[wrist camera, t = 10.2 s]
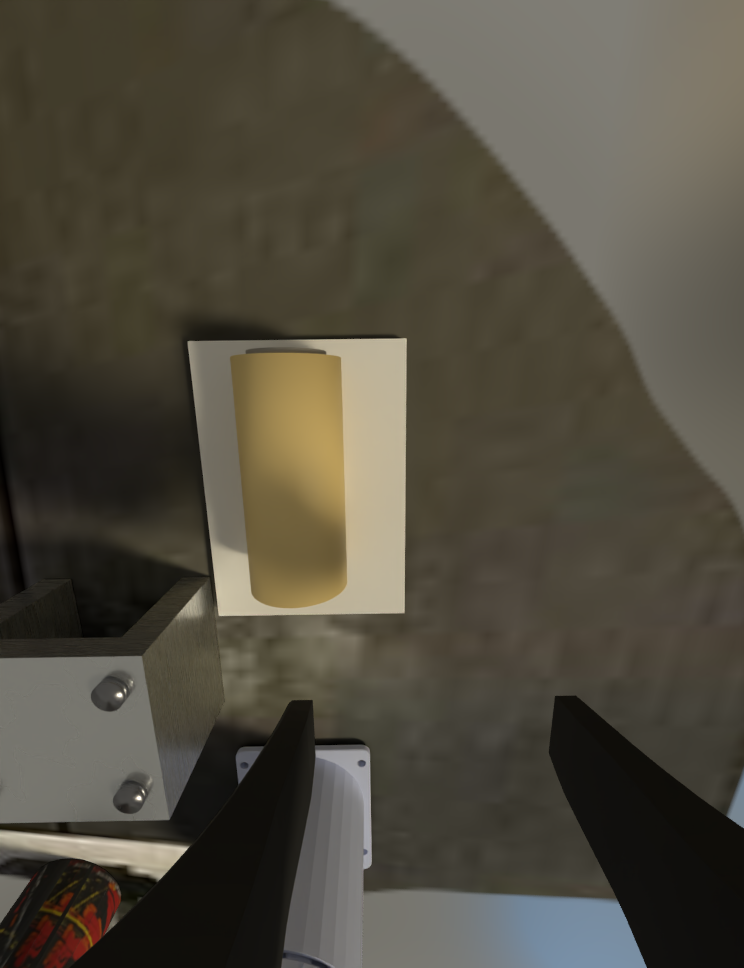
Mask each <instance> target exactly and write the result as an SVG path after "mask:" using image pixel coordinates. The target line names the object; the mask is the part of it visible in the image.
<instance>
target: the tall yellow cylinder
mask: <svg viewBox="0 0 744 968" xmlns="http://www.w3.org/2000/svg"><path fill="white" fill-rule="evenodd" d="M245 352H246V354H240V355H233V356H231V357H230V363H231V374H232V385H233V396H234V407H235V419H236V430H237V441H238V452H239V463H240V474H241V485H242V496H243V507H244V518H245V529H246V540H247V551H248V562H249V573H250V585H251V593H252V596H253V597H254V598H255V599H256V600H257V601H259V602H261V603H263V604H265V605H268V606H272V607H277V608H302V607H309V606H313V605H317V604H321V603H324V602H326V601H328V600H331V599H332V598H334V597H336V596H337V595H339V594H340V593H341V592H342V591H343V590H344V589H345V587H346V585H347V551H346V515H345V479H344V443H343V407H342V371H341V357H339V356H334V355H326V351H324V350H320V349H312V348H297V347H267V348H254V349H248V350H246V351H245Z"/></svg>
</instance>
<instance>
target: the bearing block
mask: <svg viewBox="0 0 744 968" xmlns="http://www.w3.org/2000/svg"><path fill="white" fill-rule="evenodd" d="M224 702H225V700H224V691H223V683H222V674H221V666H220V657H219V649H218V640H217V632H216V623H215V615H214V606H213V597H212V589H211V580H210V577H182V578H181V579H180V580H179V581H178V582H177V583H176V584H175V585H174V586H173V587H172V588H171V589H170V590H169V591H168V592H167V593H166V594H165V595H164V596H163V597H162V598H161V599H160V600H159V601H158V602H157V603H156V604H155V605H154V606H153V607H152V608H151V609H150V610H149V611H148V612H147V613H146V614H145V615H144V616H143V617H142V618H141V619H140V620H139V621H138V622H137V623H136V624H135V625H134V626H133V627H131V628H130V629H129V630H128V631H127V632H126V633H125V634H124V635H123V636H122V637H107V638H83V634H82V629H81V624H80V619H79V615H78V610H77V605H76V600H75V595H74V590H73V585H72V581H71V579H43V580H41V581H40V582H38V583H36V584H34V585H33V586H31V587H29V588H27V589H26V590H24V591H22V592H20V593H19V594H17V595H15V596H13V597H12V598H10V599H8V600H6V601H5V602H3V603H1V604H0V823H30V822H84V821H138V820H170V818H171V816H172V814H173V811H174V809H175V807H176V805H177V803H178V801H179V799H180V796H181V794H182V792H183V790H184V788H185V786H186V784H187V781H188V779H189V777H190V775H191V773H192V771H193V769H194V766H195V764H196V762H197V760H198V758H199V756H200V754H201V751H202V749H203V747H204V745H205V743H206V741H207V739H208V736H209V734H210V732H211V730H212V728H213V726H214V724H215V721H216V719H217V717H218V715H219V713H220V711H221V709H222V706H223V704H224Z"/></svg>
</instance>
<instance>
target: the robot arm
mask: <svg viewBox="0 0 744 968" xmlns="http://www.w3.org/2000/svg"><path fill="white" fill-rule="evenodd" d="M549 755H550V757H551V760H552V763H553V765H554V768H555V771H556V774H557V776H558V779H559V781H560V784H561V786H562V789H563V791H564V794H565V796H566V798H567V800H568V802H569V804H570V806H571V808H572V810H573V812H574V814H575V816H576V818H577V820H578V822H579V824H580V826H581V828H582V830H583V832H584V834H585V836H586V838H587V840H588V842H589V844H590V846H591V848H592V850H593V852H594V854H595V856H596V858H597V860H598V862H599V864H600V866H601V868H602V870H603V872H604V874H605V876H606V878H607V879H608V881H609V883H610V885H611V887H612V889H613V891H614V893H615V895H616V898H617V900H618V902H619V904H620V906H621V908H622V910H623V912H624V914H625V917H626V919H627V921H628V924H629V926H630V928H631V931H632V933H633V935H634V938H635V940H636V943H637V945H638V947H639V950H640V952H641V955H642V957H643V959H644V962H645V964H646V966H647V968H744V828H742V827H741V826H739V825H738V824H736V823H735V822H734V821H732V820H731V819H729V818H728V817H726V816H725V815H724V814H722V813H721V812H719V811H718V810H716V809H715V808H714V807H712V806H711V805H709V804H708V803H707V802H705V801H704V800H703V799H701V798H700V797H698V796H697V795H696V794H694V793H693V792H692V791H690V790H689V789H688V788H687V787H685V786H684V785H683V784H681V783H680V782H679V781H677V780H676V779H675V778H674V777H672V776H671V775H670V774H668V773H667V772H666V771H665V770H663V769H662V768H661V767H660V766H658V765H657V764H656V763H655V762H653V761H652V760H651V759H650V758H649V757H647V756H646V755H645V754H644V753H642V752H641V751H640V750H639V749H638V748H636V747H635V746H634V745H633V744H632V743H630V742H629V741H628V740H627V739H626V738H625V737H623V736H622V735H621V734H620V733H619V732H618V731H616V730H615V729H614V728H613V727H612V726H611V725H609V724H608V723H607V722H606V721H605V720H604V719H602V718H601V717H600V716H599V715H598V714H597V713H596V712H594V711H593V710H592V709H591V708H590V707H589V706H587V705H586V704H585V703H584V702H583V701H581V700H580V699H579V698H578V697H577V696H555V702H554V711H553V719H552V728H551V737H550V746H549ZM359 760H364V761H359ZM244 762H246V763H244ZM236 766H237V775H238V784H239V785H238V786H237V788H236V789H235V790H234V792H233V793H232V795H231V796H230V797H229V799H228V800H227V801H226V803H225V804H224V805H223V807H222V808H221V809H220V811H219V812H218V813H217V814H216V816H215V817H214V818H213V819H212V821H211V822H210V823H209V824H208V826H207V827H206V828H205V829H204V831H203V832H202V833H201V834H200V835H199V837H198V838H197V839H196V840H195V841H194V842H193V844H192V845H191V846H190V847H189V848H188V849H187V850H186V852H185V853H184V854H183V855H182V856H181V857H180V858H179V860H178V861H177V862H176V863H175V864H174V865H173V866H172V867H171V868H170V870H169V871H168V872H167V873H166V874H165V875H164V876H163V877H162V878H161V879H160V880H159V881H158V882H157V883H156V885H155V886H154V887H153V888H152V889H151V890H150V891H149V892H148V893H147V894H146V895H145V896H144V897H143V898H142V899H141V900H140V901H139V902H138V903H137V904H136V905H135V906H134V907H133V908H132V909H131V910H130V911H129V912H128V913H127V914H126V915H125V916H124V917H123V918H122V919H121V920H120V921H119V922H118V923H117V924H116V925H115V926H114V927H113V928H111V929H110V930H109V931H108V932H107V933H106V934H105V935H104V936H103V937H102V938H101V939H100V940H99V941H98V942H96V943H95V944H94V945H93V946H92V947H91V948H90V949H89V950H88V951H86V952H85V953H84V954H83V955H82V956H81V957H80V958H79V959H78V960H77V961H75V962H74V963H73V964H72V965H71V966H70V967H69V968H362V939H363V869H367V868H369V867H370V866H371V863H372V852H371V792H370V750H369V748H368V747H367V746H365V745H315V736H314V718H313V700H293V701H291V702H290V703H289V704H288V706H287V708H286V710H285V712H284V713H283V715H282V717H281V719H280V721H279V723H278V724H277V726H276V728H275V730H274V731H273V733H272V735H271V736H270V738H269V740H268V741H267V743H266V744H265V746H258V747H241V748H240V749H239V750H238V751H237V754H236Z"/></svg>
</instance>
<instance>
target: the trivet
mask: <svg viewBox="0 0 744 968" xmlns="http://www.w3.org/2000/svg"><path fill="white" fill-rule="evenodd" d="M267 347H297V348H312V349H320V350H324V351H326V355H334V356H339V357H341V371H342V407H343V443H344V479H345V515H346V551H347V585H346V587H345V589H344V590H343V591H342V592H341V593H340V594H339V595H337V596H336V597H334V598H332V599H331V600H328V601H326V602H324V603H321V604H317V605H313V606H309V607H302V608H277V607H272V606H268V605H265V604H263V603H261V602H259V601H257V600H256V599H255V598H254V597H253V596H252V593H251V585H250V573H249V562H248V551H247V540H246V529H245V518H244V507H243V496H242V485H241V474H240V463H239V452H238V441H237V430H236V419H235V407H234V396H233V385H232V374H231V363H230V357H231V356H233V355H240V354H246V352H245V351H246V350H248V349H254V348H267ZM188 350H189V359H190V368H191V376H192V385H193V394H194V403H195V411H196V420H197V429H198V437H199V446H200V455H201V464H202V472H203V481H204V490H205V499H206V507H207V516H208V525H209V533H210V542H211V551H212V560H213V568H214V577H215V586H216V595H217V603H218V612H219V616H248V615H311V614H375V613H404V606H405V472H406V338H405V339H322V340H238V341H188Z"/></svg>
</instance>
